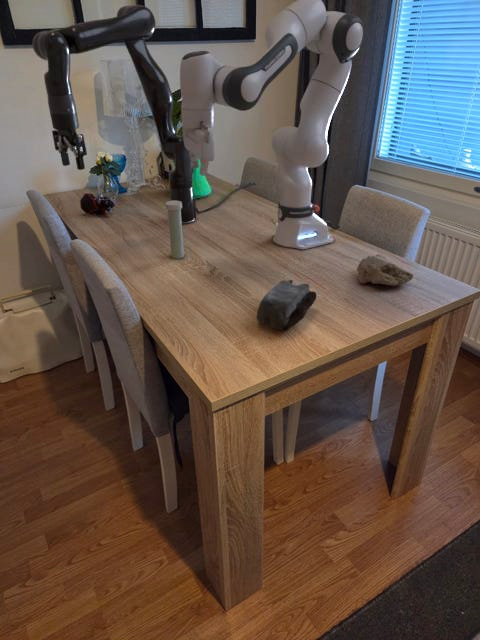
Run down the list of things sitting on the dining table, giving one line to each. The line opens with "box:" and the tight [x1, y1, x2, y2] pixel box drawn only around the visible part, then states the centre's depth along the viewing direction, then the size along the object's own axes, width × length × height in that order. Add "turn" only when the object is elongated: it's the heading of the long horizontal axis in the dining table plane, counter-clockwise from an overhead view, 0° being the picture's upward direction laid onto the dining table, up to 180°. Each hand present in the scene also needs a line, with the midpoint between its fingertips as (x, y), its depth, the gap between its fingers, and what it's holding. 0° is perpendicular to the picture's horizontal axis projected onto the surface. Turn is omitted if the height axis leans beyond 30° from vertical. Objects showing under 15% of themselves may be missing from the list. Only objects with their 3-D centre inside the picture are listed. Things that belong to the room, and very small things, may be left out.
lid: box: [165, 200, 182, 211], centre depth 144 cm, size 5×5×2 cm
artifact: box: [356, 254, 414, 286], centre depth 138 cm, size 18×7×15 cm
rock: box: [256, 279, 317, 332], centre depth 117 cm, size 18×11×8 cm, turn 152°
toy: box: [79, 192, 117, 218], centre depth 189 cm, size 12×9×15 cm
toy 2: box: [168, 159, 212, 200], centre depth 210 cm, size 20×20×25 cm
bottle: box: [167, 209, 185, 260], centre depth 149 cm, size 4×4×18 cm
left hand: (73, 167), depth 141 cm, fingers open, 8 cm apart
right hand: (199, 171), depth 130 cm, fingers open, 8 cm apart
